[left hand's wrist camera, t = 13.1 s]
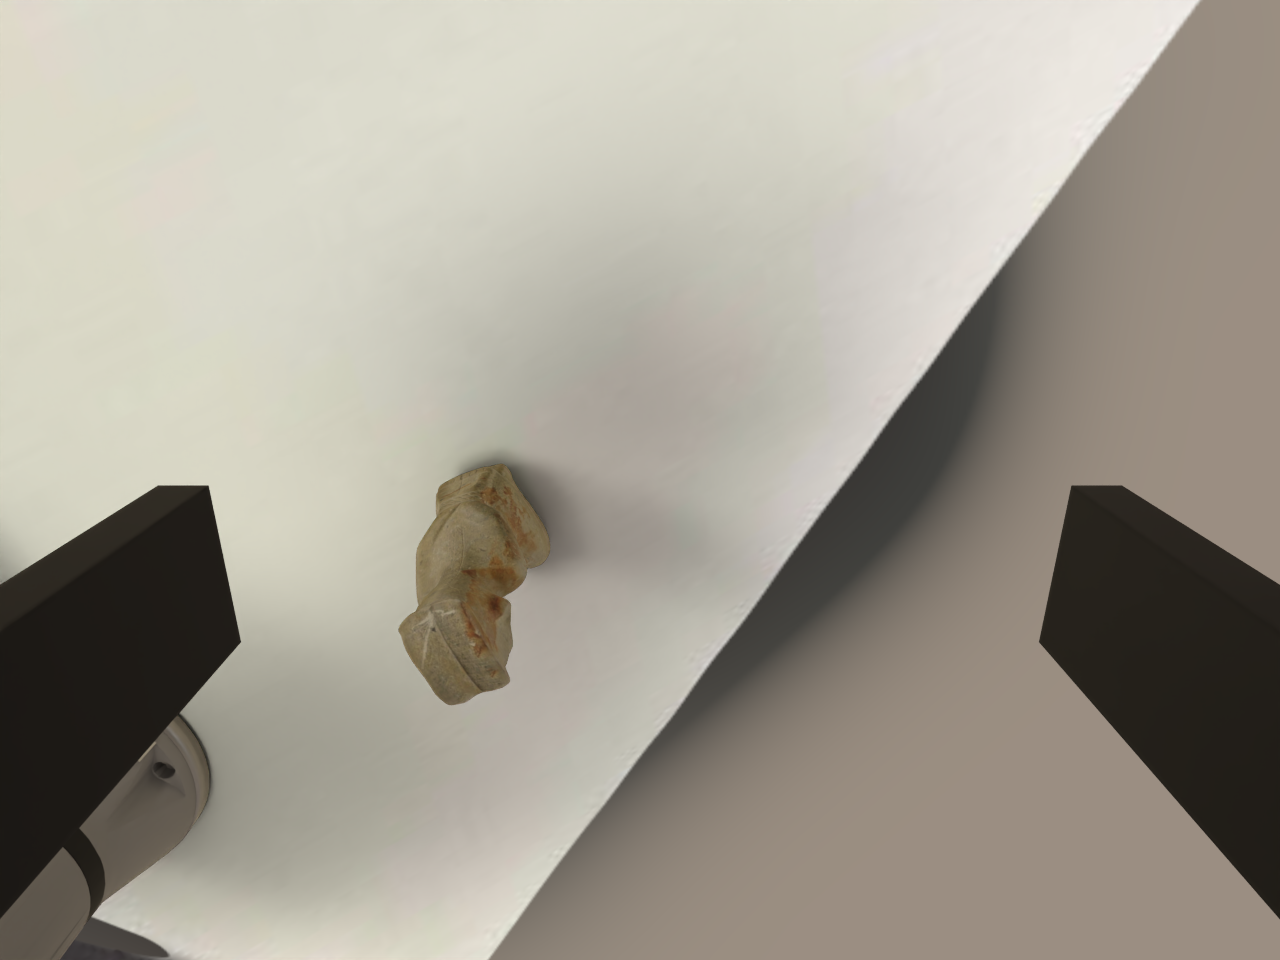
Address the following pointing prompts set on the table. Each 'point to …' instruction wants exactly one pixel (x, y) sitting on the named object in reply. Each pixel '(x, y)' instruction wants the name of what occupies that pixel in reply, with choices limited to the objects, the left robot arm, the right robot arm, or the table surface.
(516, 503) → the sculpture
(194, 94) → the table surface
